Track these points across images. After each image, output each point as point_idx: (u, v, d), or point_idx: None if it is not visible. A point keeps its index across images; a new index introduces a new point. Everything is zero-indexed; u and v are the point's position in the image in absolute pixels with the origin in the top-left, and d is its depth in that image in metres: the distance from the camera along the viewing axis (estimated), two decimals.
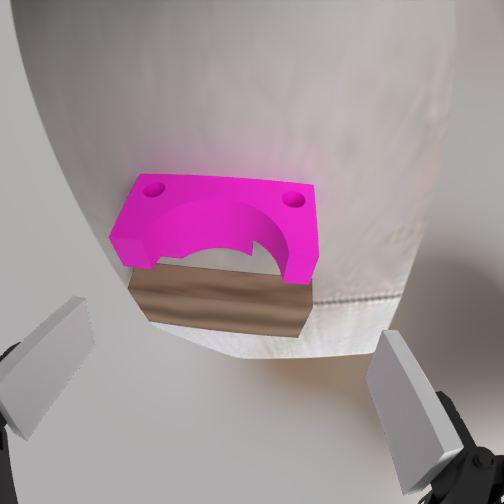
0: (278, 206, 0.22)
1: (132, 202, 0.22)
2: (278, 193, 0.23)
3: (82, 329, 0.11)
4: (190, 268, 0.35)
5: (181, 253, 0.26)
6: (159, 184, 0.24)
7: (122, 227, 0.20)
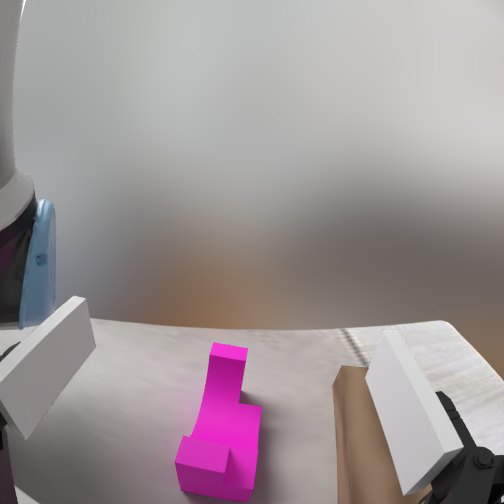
0: None
1: None
2: None
3: (82, 329, 0.11)
4: (338, 482, 0.22)
5: (250, 450, 0.22)
6: None
7: None
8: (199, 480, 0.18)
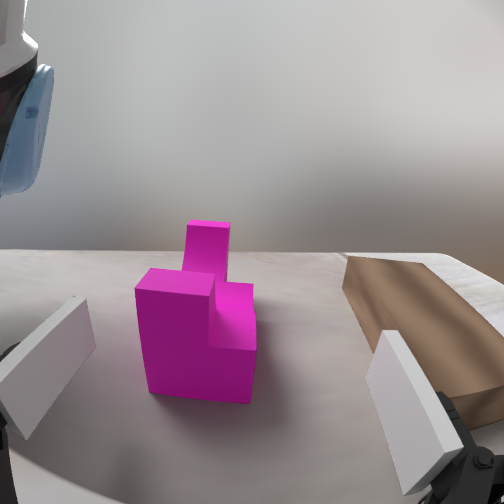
0: None
1: None
2: None
3: (82, 329, 0.11)
4: None
5: (245, 311, 0.19)
6: None
7: None
8: (173, 341, 0.15)
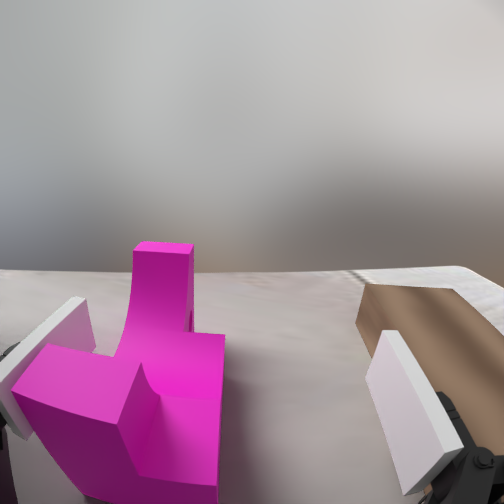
0: None
1: None
2: None
3: (82, 329, 0.11)
4: None
5: (204, 400, 0.11)
6: None
7: None
8: (87, 461, 0.07)
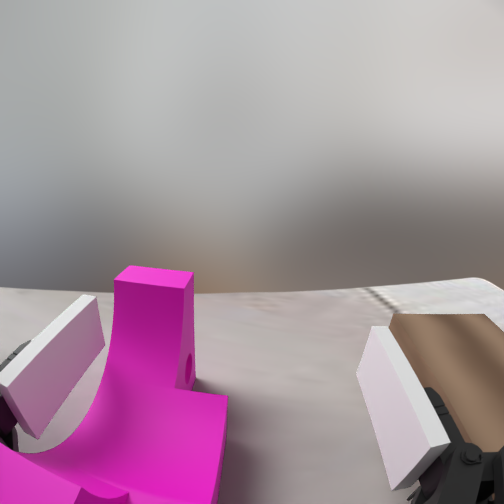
0: None
1: None
2: None
3: (92, 327, 0.11)
4: None
5: None
6: None
7: None
8: None
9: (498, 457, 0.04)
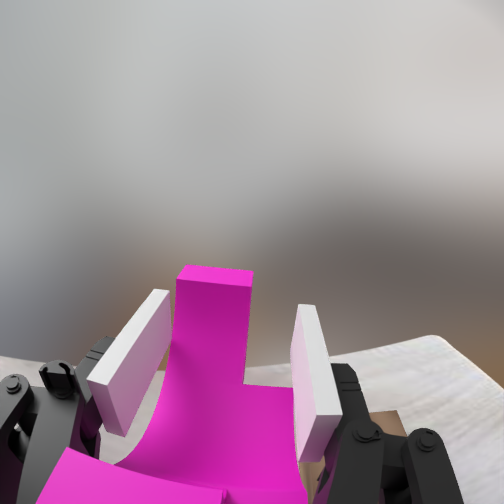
0: None
1: None
2: None
3: (165, 321, 0.13)
4: None
5: (286, 493, 0.07)
6: None
7: None
8: None
9: (405, 447, 0.06)
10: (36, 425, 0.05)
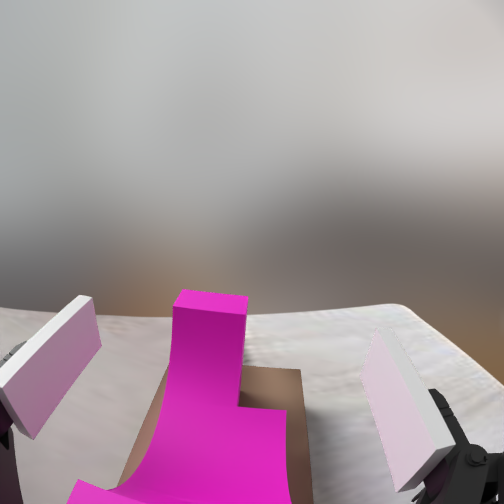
0: None
1: None
2: None
3: (88, 328, 0.11)
4: None
5: None
6: None
7: None
8: None
9: (502, 458, 0.04)
10: None
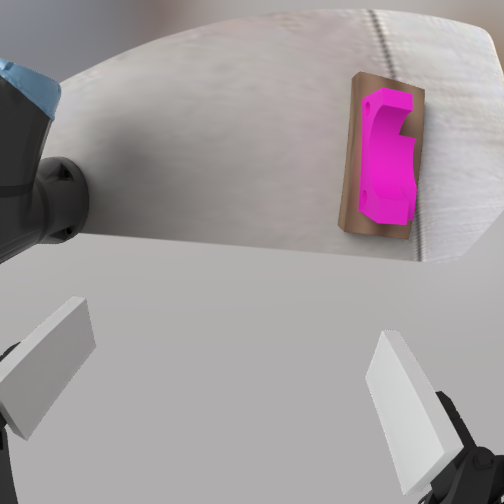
0: (370, 116, 0.30)
1: (367, 211, 0.33)
2: (366, 118, 0.32)
3: (82, 329, 0.11)
4: (344, 175, 0.39)
5: (412, 187, 0.31)
6: (363, 195, 0.35)
7: (374, 214, 0.31)
8: None
9: None
10: None
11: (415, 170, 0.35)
